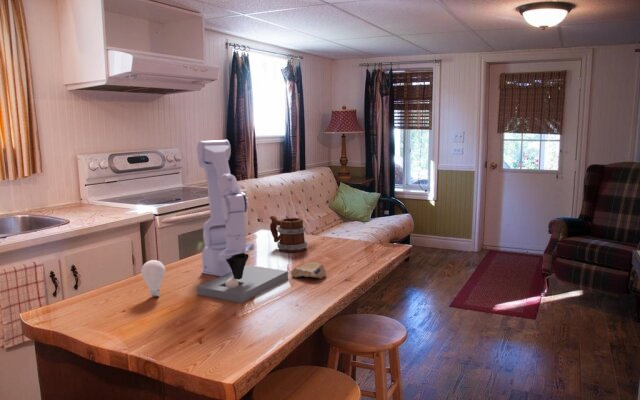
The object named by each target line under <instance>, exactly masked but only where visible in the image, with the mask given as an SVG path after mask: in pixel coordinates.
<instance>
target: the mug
mask: <svg viewBox="0 0 640 400" xmlns="http://www.w3.org/2000/svg"><path fill="white" fill-rule="evenodd" d="M269 219H270V220H271V222H270V225H269V229H270V232H271V236H272V237H273V242H274V243H277V248H278V251H279V252H282V253H285V254H287V253H288V254H293V253H295V254H297V253H301V252H304V251H305V250H306V249H307V245H308V242H307V240H305V239H306V238H305V231H306V228H307V227H306V226H305V225H304V222H303V221H304V220H303V218H300V217H291V218H290V217H284V218H282V219H280V220H279V219H277V217H275V215H271V216H270V217H269ZM277 227H278V228H277ZM278 233H279V234H278Z"/></svg>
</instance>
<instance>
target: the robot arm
mask: <svg viewBox="0 0 640 400" xmlns="http://www.w3.org/2000/svg"><path fill="white" fill-rule="evenodd" d="M196 151H197V152H196V153H197V159H198V165H199V167H200V168H202V169H204V172H205V178H206V179H205V180H206V186H207V196H208V206H209V214H210V215H209V216H210V217H209V218H208V219H207V221H205V222H204V224H203V225H202V232H203V233H202V238H203V243H204V247H203V250H202V253H201V258H202V260H201V261H202V262H201V263H202V271H201V274H205V275H212V276H217V277H220V276H223V275H225V274H228V273H230V272H232V273H233V276H234V278H235V279H241V278H242V276H243V271H244V267H245V266H246V265H247V261H248V259H249V254H248V253H249V252H250V251H254V250H255V245H254V243H253V242H252V243H251V242H248V243H247V238H246V236H247V235H246V218H245V217H246V215H245V213H246V212H247V210H248V201H247V196H246V194H245V193H244V192H243V190H241V188H240V186H239V184H238V180H237V178H236V176H235V175H234V174H231V169H230V166H229V165H230V164H229V160H230V157H231V154H232V152H231V151H232V149H231V144H230V141H229V140H228V139H218V140H217V139H216V140H215V139H213V140H202V139H201V140H199V141H198V142H197V147H196Z"/></svg>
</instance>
